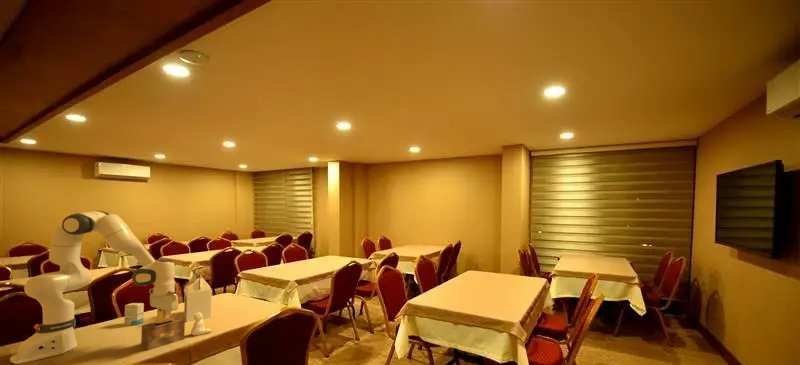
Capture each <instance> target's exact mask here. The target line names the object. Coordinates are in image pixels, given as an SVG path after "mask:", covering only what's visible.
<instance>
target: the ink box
mask: <svg viewBox="0 0 800 365" xmlns="http://www.w3.org/2000/svg"><path fill="white" fill-rule="evenodd" d="M144 307H145V304H144V303H143V302H131V303H128V304H125V306H124V320H123V321H124V322H123V325H124V326H138V325H140V324H143V323H144V310H145V309H144Z"/></svg>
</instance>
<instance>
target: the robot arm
mask: <svg viewBox="0 0 800 365" xmlns="http://www.w3.org/2000/svg"><path fill="white" fill-rule="evenodd" d="M95 232H97V233H99V234H100V236H101V237H102V238H103V240H104V242H105V243H106V244H107V245H108V247H110V248H111V249H112V250H114V251H116V252H121V253H127V254H130V255H131V256H133V257H134V258H135V259H136V260H137V261H138V263H139V264H140V266H142V267H140V268H138V269H136V270H134V272H133V273H132V276H131V280H132V282H133V284H134V285H136V286H138V287H144V286H145V287H146V286H148V285H153V288H149V290H148V291H149V294H150V295H149V304H150V307H152V308H156V309H157V310H162V309H164V310H165V314H164V318H168V317H169V313H170V311H171V312H173V311H176V310H178V309H179V298H178V294H176V290H175V287H176V283H175V276H176V266H175V262H174V260H173V259H170V258H169V259H168V258H158V259H156V258H155V257H154V256H153V254H152V253H151V252H150V251H149V250H148V248H146V246H145V245H144V244H143V243H142V242H141V241H140V240H139V239H138V237H137V236H136V235H135V234H134V233H133V231H132V230H131V228H130V227H129V225H128V224H127V223H126V222H125V221H124V220H123V219H122V218H121V217H120V216H119V215H118V214H114V213H110V214H109V212H106V211H102V210H95V211H94V210H93V211H92V210H90V211H83V212H79V213H72V214H70V215H68V216H65V217H64V219H63V220H62V222H61V223H60V224H58V225H57V226H56V228H55V230H54V233H53V236H52V238H51V244H50V248H49V254H48V260H49V261H50V262H51V263H52V264H54V265H57V266H59V271H53V272H46V273H41V274H38V275H35V276H33V277H30V278H28V280H27V281H25V284H24V287H23V288H24V293H25V294H26V295H27V297H29V298H32V299H35V300H37V302H39V304H40V306H41V308H42V323H40V324H39V323H36V324H34V325H33V328H34V329H35V333H34V334H32V335H31V336H30V337H28V338H27V339H25V340H24V341H23V342H21V344H20V345H19V347H18V349H17V353H15V354H13V355H12V356H10V358H9V363H11V362H12V363H14V365H19V364H25V363H28V362H32V361H37V360H41V359H45V358H51V357H55V356H59V355H62V354H65V353H66V352H68V351H70V350H73V349H74V348H75V347H77V346H78V342H77V339H76V334H75V328H76V317H75V307H76V306H75V302H74V301H72V299H71V300H70V299H67V298H64V296H63V293H65V292H70V291H75V290H79V289H81V288H84V287H86V286H89V284H90V283H91V281H92V279H93V274H92V272H91V270H90V269H88V268H86V267H85V266H84V265H83V263H82V261H81V251H82V244H83V238H84V236H85V234H92V233H95ZM157 310H156V311H157ZM12 363H11V364H12Z"/></svg>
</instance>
